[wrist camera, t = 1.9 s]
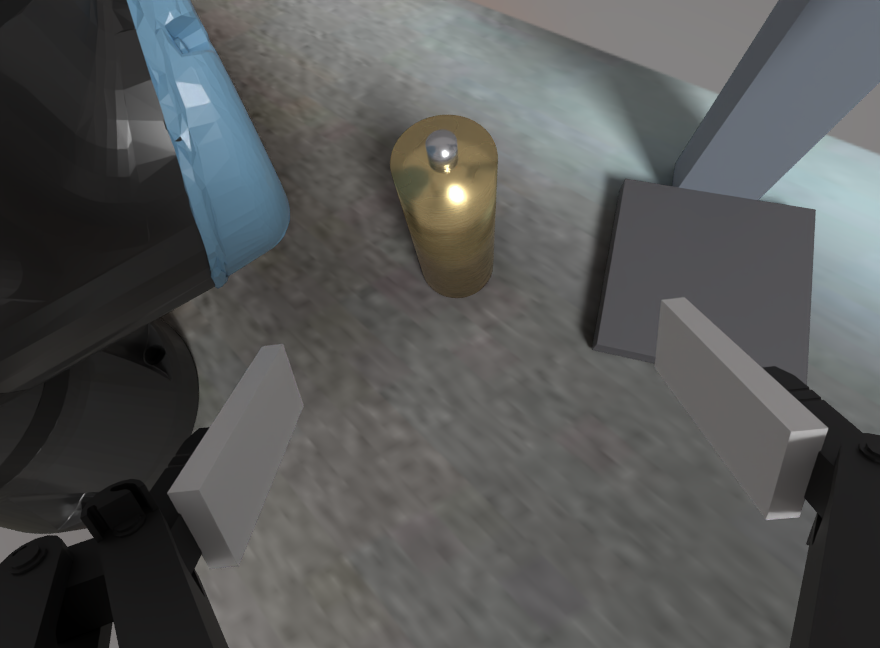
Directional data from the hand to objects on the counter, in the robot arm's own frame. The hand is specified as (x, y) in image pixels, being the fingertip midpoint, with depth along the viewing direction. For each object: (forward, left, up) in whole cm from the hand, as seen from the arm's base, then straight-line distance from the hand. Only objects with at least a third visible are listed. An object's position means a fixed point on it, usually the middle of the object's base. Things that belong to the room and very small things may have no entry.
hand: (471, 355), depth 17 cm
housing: (-4, +9, -14) cm, 17 cm away
